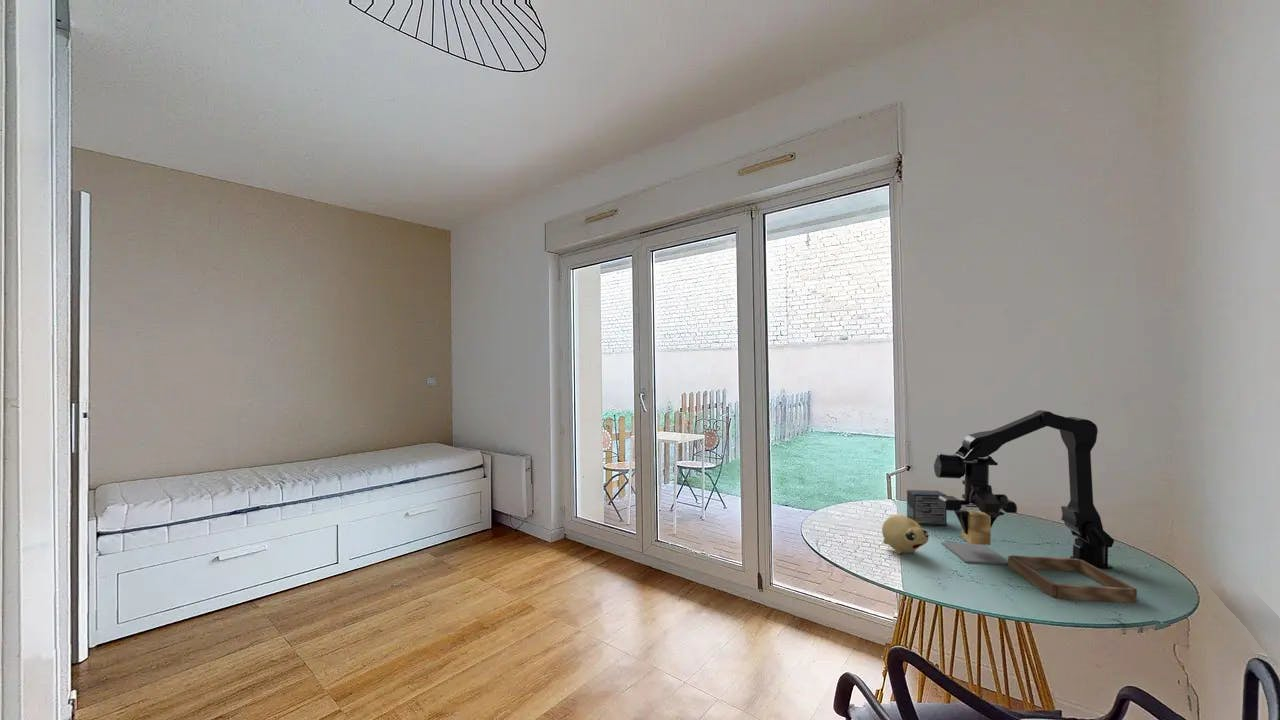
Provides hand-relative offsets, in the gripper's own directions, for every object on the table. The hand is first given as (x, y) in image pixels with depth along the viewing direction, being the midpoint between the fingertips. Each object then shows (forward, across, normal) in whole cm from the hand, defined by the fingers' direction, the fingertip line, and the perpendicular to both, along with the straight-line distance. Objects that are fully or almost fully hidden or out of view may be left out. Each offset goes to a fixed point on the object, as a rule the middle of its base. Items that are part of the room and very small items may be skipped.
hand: (975, 534), depth 145 cm
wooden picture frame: (+6, +13, -17) cm, 22 cm away
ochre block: (+2, 0, 0) cm, 2 cm away
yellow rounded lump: (+6, -12, +18) cm, 22 cm away
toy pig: (+6, -20, -2) cm, 21 cm away
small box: (+6, -2, +27) cm, 28 cm away
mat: (+6, 0, 0) cm, 6 cm away
